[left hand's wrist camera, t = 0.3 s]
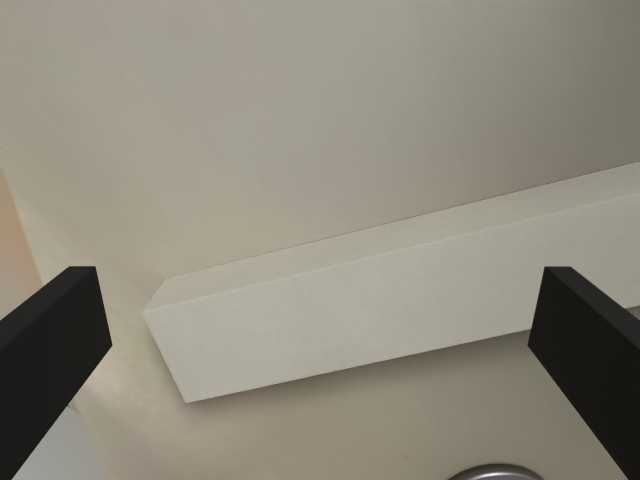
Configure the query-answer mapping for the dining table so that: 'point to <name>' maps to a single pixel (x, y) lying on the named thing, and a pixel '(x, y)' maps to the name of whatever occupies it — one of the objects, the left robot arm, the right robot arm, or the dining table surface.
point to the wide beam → (395, 286)
